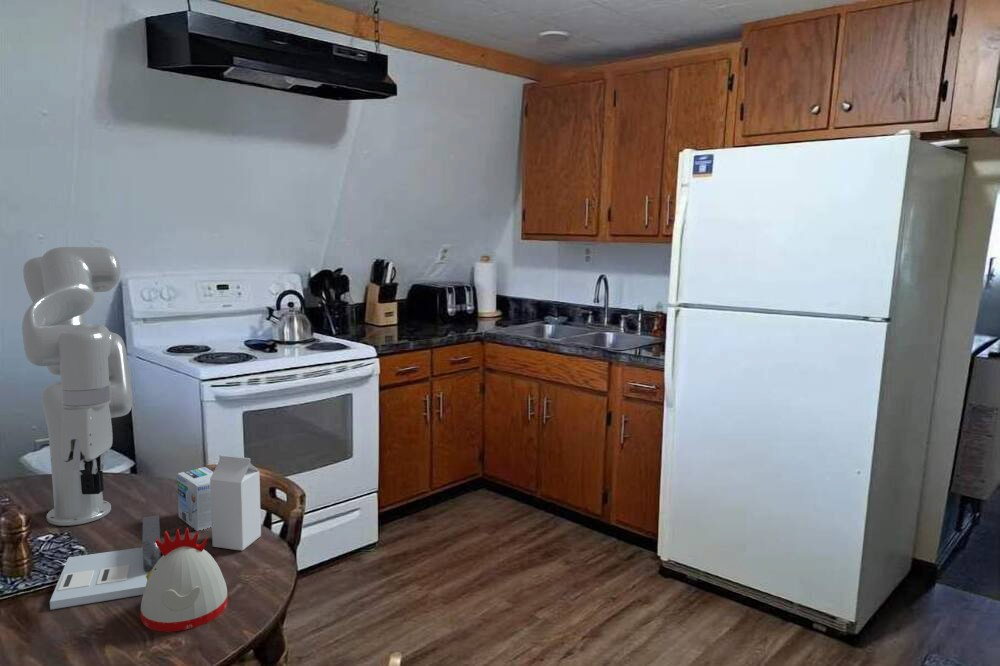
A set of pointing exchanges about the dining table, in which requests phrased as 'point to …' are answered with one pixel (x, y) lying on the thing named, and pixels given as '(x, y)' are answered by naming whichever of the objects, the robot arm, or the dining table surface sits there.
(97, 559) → the label board
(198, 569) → the kitchen timer
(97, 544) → the dining table surface
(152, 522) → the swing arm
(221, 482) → the milk carton
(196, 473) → the light bulb box
